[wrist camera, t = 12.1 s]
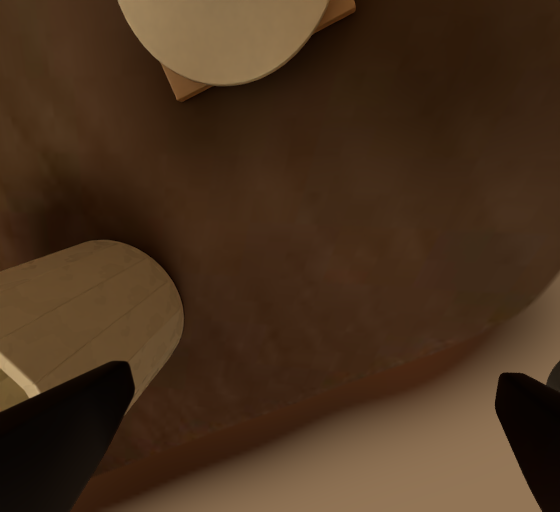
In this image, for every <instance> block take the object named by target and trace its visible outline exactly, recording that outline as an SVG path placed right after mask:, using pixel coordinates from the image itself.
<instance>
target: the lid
mask: <svg viewBox="0 0 560 512" xmlns="http://www.w3.org/2000/svg"><path fill="white" fill-rule="evenodd" d="M329 1H330V0H118V3H119V5H120V7H121V10H122V12H123V14H124V16H125V18H126V20H127V22H128V24H129V25H130V27H131V29H132V30H133V32H134V34H135V35H136V36H137V38H138V39H139V40H140V42H141V43H142V44H143V46H144V47H145V48H146V49H147V50H148V51H149V52H150V53H151V54H152V55H153V56H154V57H155V58H156V59H157V60H159V61H160V62H161V63H162V64H163V65H165V66H166V67H168V68H169V69H171V70H172V71H174V72H176V73H177V74H179V75H181V76H183V77H185V78H188V79H190V80H192V81H195V82H199V83H202V84H206V85H213V86H236V85H241V84H247V83H250V82H253V81H256V80H259V79H261V78H263V77H265V76H267V75H269V74H271V73H273V72H275V71H276V70H277V69H279V68H280V67H282V66H283V65H285V64H286V63H287V62H288V61H289V60H290V59H292V58H293V57H294V56H295V55H296V54H297V53H298V52H299V51H300V50H301V48H302V47H303V46H304V45H305V44H306V43H307V41H308V40H309V39H310V37H311V36H312V34H313V33H314V31H315V30H316V28H317V27H318V25H319V23H320V21H321V19H322V17H323V15H324V13H325V11H326V9H327V7H328V4H329Z"/></svg>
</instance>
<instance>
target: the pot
mask: <svg viewBox="0 0 560 512" xmlns="http://www.w3.org/2000/svg"><path fill="white" fill-rule="evenodd" d="M183 326H184V312H183V306H182V302H181V298H180V296H179V293H178V290H177V289H176V287H175V285H174V283H173V281H172V280H171V278H170V277H169V275H168V274H167V273H166V272H165V270H164V269H163V268H162V267H161V266H160V265H159V264H158V263H157V262H156V261H155V260H154V259H152V258H151V257H150V256H148V255H147V254H146V253H144V252H142V251H140V250H139V249H137V248H135V247H133V246H130V245H128V244H125V243H121V242H117V241H112V240H93V241H87V242H84V243H81V244H79V245H76V246H73V247H70V248H67V249H64V250H61V251H58V252H55V253H52V254H50V255H47V256H44V257H41V258H38V259H35V260H32V261H29V262H26V263H24V264H21V265H18V266H15V267H12V268H9V269H6V270H3V271H1V272H0V412H1V411H3V410H5V409H8V408H10V407H12V406H14V405H16V404H19V403H21V402H23V401H25V400H27V399H29V398H32V397H34V396H36V395H38V394H40V393H42V392H45V391H47V390H49V389H51V388H53V387H55V386H58V385H60V384H62V383H64V382H66V381H68V380H71V379H73V378H75V377H77V376H79V375H81V374H84V373H86V372H88V371H90V370H92V369H94V368H97V367H99V366H101V365H103V364H105V363H108V362H110V361H127V362H128V363H129V364H130V367H131V372H132V376H133V380H134V384H135V393H134V396H133V399H132V401H131V403H130V405H129V407H128V409H127V411H128V410H129V409H130V408H131V406H132V405H133V404H134V402H135V401H136V400H137V399H138V397H139V396H140V395H141V393H142V392H143V391H144V390H145V388H146V387H147V386H148V385H149V383H150V382H151V381H152V379H153V378H154V377H155V376H156V374H157V373H158V372H159V371H160V369H161V368H162V367H163V365H164V364H165V363H166V362H167V360H168V359H169V358H170V357H171V355H172V353H173V351H174V349H175V348H176V346H177V345H178V343H179V341H180V338H181V335H182V332H183ZM127 411H126V413H127ZM126 413H125V414H126Z"/></svg>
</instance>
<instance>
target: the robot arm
mask: <svg viewBox="0 0 560 512" xmlns="http://www.w3.org/2000/svg"><path fill="white" fill-rule="evenodd" d="M134 393H135V384H134V380H133V376H132V372H131V367H130V364H129V363H128V362H127V361H110V362H108V363H105V364H103V365H101V366H99V367H97V368H94V369H92V370H90V371H88V372H86V373H84V374H81V375H79V376H77V377H75V378H73V379H71V380H68V381H66V382H64V383H62V384H60V385H58V386H55V387H53V388H51V389H49V390H47V391H45V392H42V393H40V394H38V395H36V396H34V397H32V398H29V399H27V400H25V401H23V402H21V403H19V404H16V405H14V406H12V407H10V408H8V409H5V410H3V411H1V412H0V512H70V511H71V509H72V507H73V506H74V504H75V503H76V501H77V499H78V498H79V496H80V494H81V493H82V491H83V489H84V488H85V486H86V485H87V483H88V481H89V480H90V478H91V476H92V475H93V473H94V471H95V470H96V468H97V466H98V465H99V463H100V461H101V460H102V458H103V456H104V454H105V452H106V451H107V449H108V447H109V445H110V443H111V441H112V439H113V437H114V435H115V433H116V431H117V429H118V427H119V425H120V423H121V421H122V419H123V417H124V415H125V413H126V411H127V409H128V407H129V405H130V403H131V401H132V399H133V396H134ZM495 409H496V413H497V416H498V418H499V420H500V422H501V425H502V427H503V430H504V432H505V434H506V436H507V439H508V441H509V443H510V446H511V448H512V450H513V452H514V455H515V457H516V459H517V461H518V464H519V466H520V468H521V470H522V473H523V475H524V477H525V479H526V481H527V484H528V486H529V488H530V490H531V492H532V494H533V496H534V497H535V499H536V501H537V503H538V505H539V507H540V508H541V510H542V512H560V392H558V391H556V390H554V389H552V388H550V387H548V386H546V385H544V384H543V383H541V382H539V381H537V380H535V379H533V378H531V377H529V376H527V375H525V374H523V373H502V374H501V375H500V377H499V380H498V386H497V393H496V399H495Z"/></svg>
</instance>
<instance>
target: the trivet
mask: <svg viewBox="0 0 560 512" xmlns="http://www.w3.org/2000/svg"><path fill="white" fill-rule="evenodd" d="M355 9H356V5H355V1H354V0H330V1H329V4H328V7H327V9H326V11H325V13H324V15H323V17H322V19H321V21H320V23H319V25H318V27H317V28H316V30H315V31H314V33H316V32H318V31H320V30H322V29H323V28H325V27H327V26H329V25H331V24H333V23H335V22H337V21H339V20H341V19H343V18H345V17H346V16H348V15H350V14H352V13H354V12H355ZM314 33H313V34H314ZM160 63H161V62H160ZM161 65H162V67H163V69H164V72H165V74H166V76H167V78H168V81H169V83H170V85H171V87H172V90H173V92H174V94H175V96H176V99H177V100H178V101H180V102H183V101H185V100H187V99H189V98H191V97H193V96H195V95H197V94H199V93H201V92H203V91H204V90H206V89H208V88H210V87H212V86H213V85H206V84H202V83H199V82H195V81H192V80H190V79H188V78H185V77H183V76H181V75H179V74H177V73H176V72H174V71H172V70H171V69H169V68H168V67H166V66H165V65H163V64H162V63H161Z"/></svg>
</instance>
